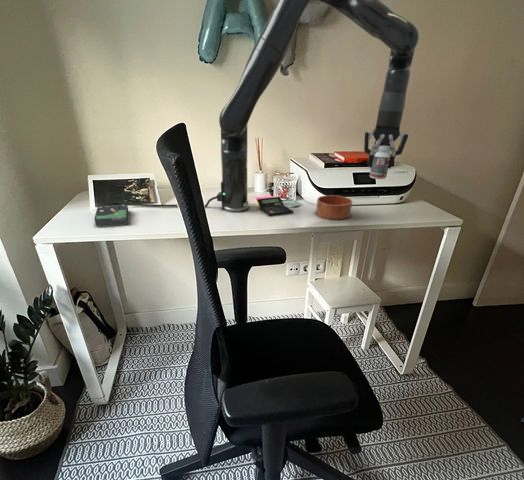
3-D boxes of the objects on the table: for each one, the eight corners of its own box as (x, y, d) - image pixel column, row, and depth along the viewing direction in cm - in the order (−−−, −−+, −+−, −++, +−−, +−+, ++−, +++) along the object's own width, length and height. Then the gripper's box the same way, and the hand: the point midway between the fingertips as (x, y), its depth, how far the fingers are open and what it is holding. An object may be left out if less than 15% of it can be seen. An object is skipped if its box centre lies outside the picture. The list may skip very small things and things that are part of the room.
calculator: (270, 216, 133) (270, 207, 131) (257, 206, 142) (257, 198, 140) (292, 213, 136) (293, 205, 135) (278, 204, 145) (279, 196, 143)
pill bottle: (386, 180, 124) (393, 147, 118) (369, 178, 125) (375, 146, 119) (385, 176, 129) (392, 144, 123) (368, 175, 130) (374, 143, 124)
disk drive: (98, 213, 132) (96, 227, 120) (96, 205, 130) (94, 218, 119) (128, 211, 134) (129, 224, 123) (127, 203, 132) (127, 216, 121)
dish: (315, 218, 132) (317, 204, 129) (316, 207, 142) (318, 194, 139) (350, 220, 131) (353, 206, 128) (349, 210, 141) (351, 196, 138)
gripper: (412, 108, 117) (399, 166, 127) (367, 107, 118) (357, 164, 129) (417, 111, 111) (402, 171, 121) (368, 109, 113) (358, 168, 123)
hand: (379, 167), depth 125 cm, fingers closed on pill bottle, 5 cm apart
